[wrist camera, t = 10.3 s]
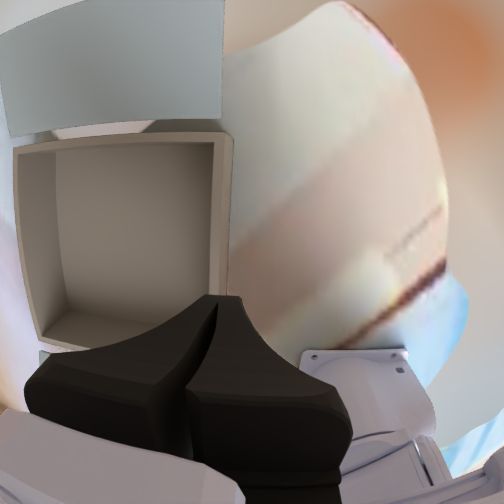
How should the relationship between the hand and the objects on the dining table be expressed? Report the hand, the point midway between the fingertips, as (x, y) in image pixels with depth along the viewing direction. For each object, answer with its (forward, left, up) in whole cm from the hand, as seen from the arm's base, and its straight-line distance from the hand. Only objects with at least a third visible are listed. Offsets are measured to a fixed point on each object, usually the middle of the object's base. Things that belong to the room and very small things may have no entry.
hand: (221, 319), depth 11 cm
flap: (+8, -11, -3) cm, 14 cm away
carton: (+8, 0, -10) cm, 13 cm away
